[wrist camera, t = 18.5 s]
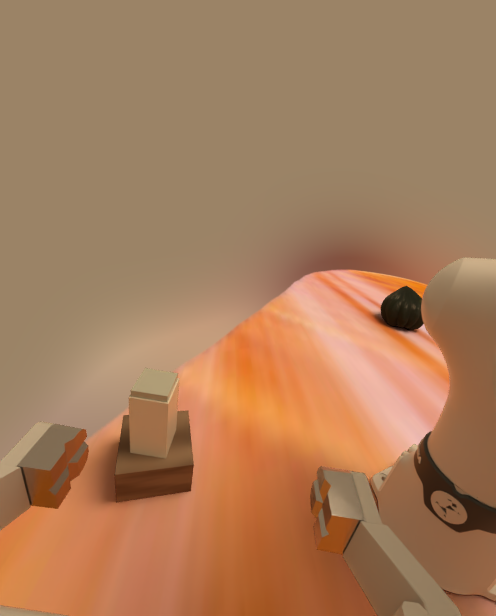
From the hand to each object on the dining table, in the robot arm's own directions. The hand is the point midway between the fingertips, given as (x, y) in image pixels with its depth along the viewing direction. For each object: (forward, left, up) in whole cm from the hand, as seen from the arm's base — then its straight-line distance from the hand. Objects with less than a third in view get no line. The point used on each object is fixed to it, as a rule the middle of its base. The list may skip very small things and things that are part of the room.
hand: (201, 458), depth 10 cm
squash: (-105, -31, -34) cm, 115 cm away
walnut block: (-9, -24, -34) cm, 43 cm away
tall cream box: (-8, -24, -28) cm, 38 cm away
